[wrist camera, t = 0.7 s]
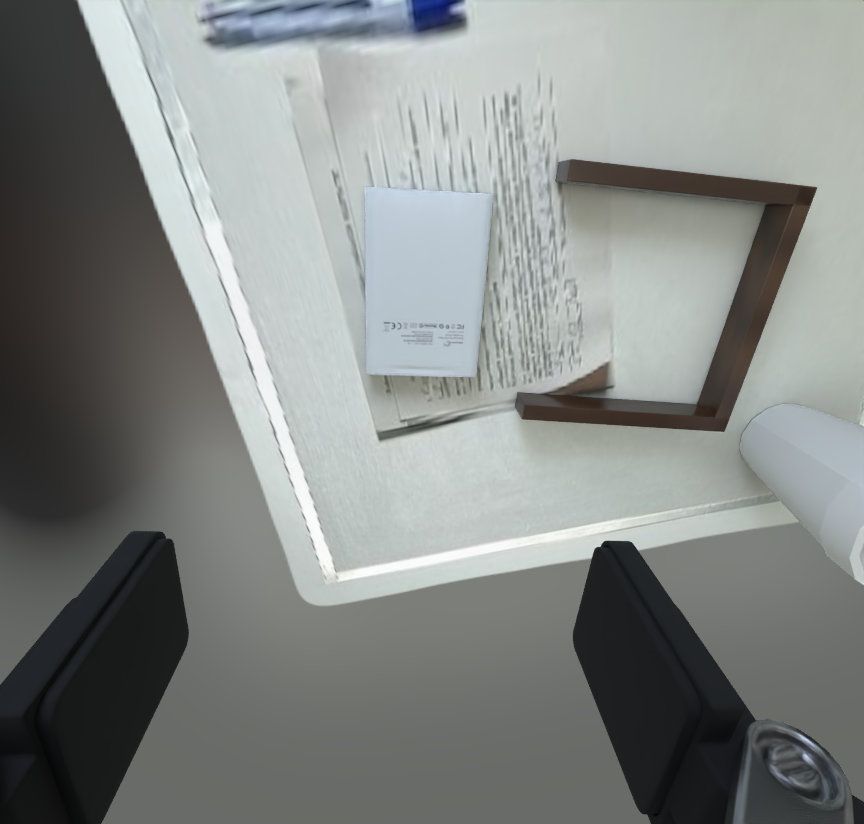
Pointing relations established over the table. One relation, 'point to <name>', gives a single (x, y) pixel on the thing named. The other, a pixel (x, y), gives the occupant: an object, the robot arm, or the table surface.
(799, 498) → the foam cup
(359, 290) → the table surface
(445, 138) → the table surface
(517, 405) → the dock
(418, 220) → the hard drive
